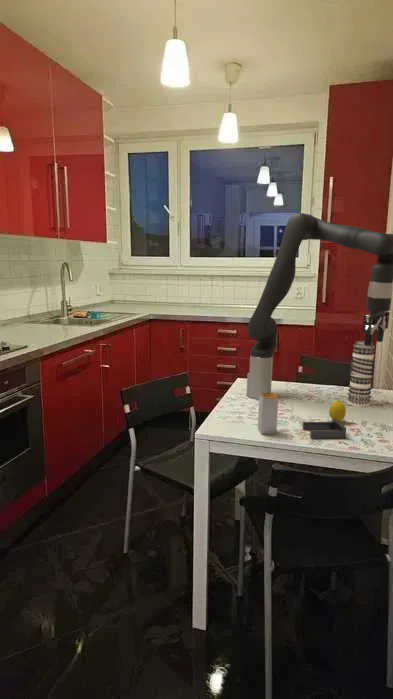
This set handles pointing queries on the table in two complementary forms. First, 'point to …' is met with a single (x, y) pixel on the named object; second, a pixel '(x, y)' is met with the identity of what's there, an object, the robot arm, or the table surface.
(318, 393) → the table surface
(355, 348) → the decorative candle
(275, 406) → the block
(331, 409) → the lemon
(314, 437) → the channel
